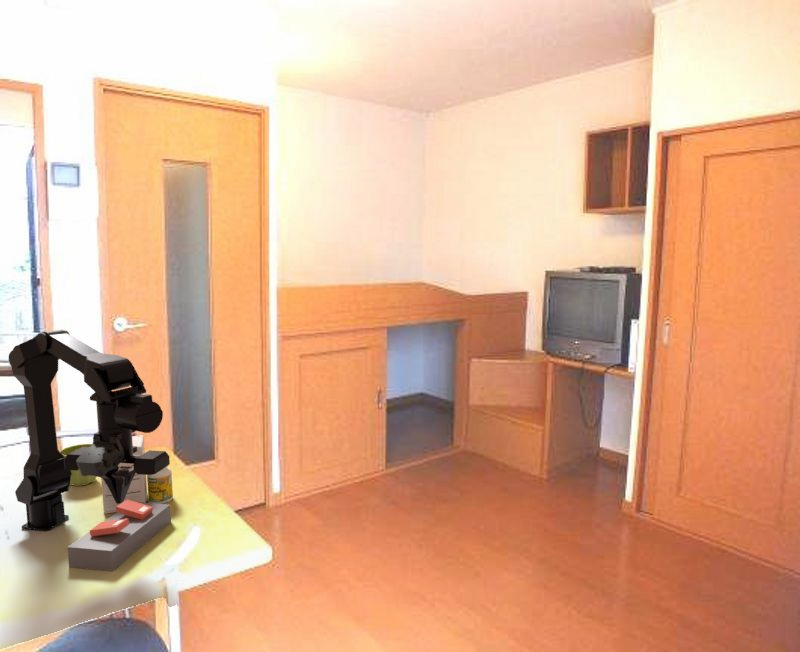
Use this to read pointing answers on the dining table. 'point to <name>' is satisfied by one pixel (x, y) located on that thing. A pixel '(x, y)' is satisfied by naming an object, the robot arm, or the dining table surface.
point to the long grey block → (118, 540)
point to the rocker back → (134, 509)
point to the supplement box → (136, 488)
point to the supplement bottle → (160, 486)
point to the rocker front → (109, 527)
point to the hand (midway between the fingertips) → (119, 502)
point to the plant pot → (76, 475)
